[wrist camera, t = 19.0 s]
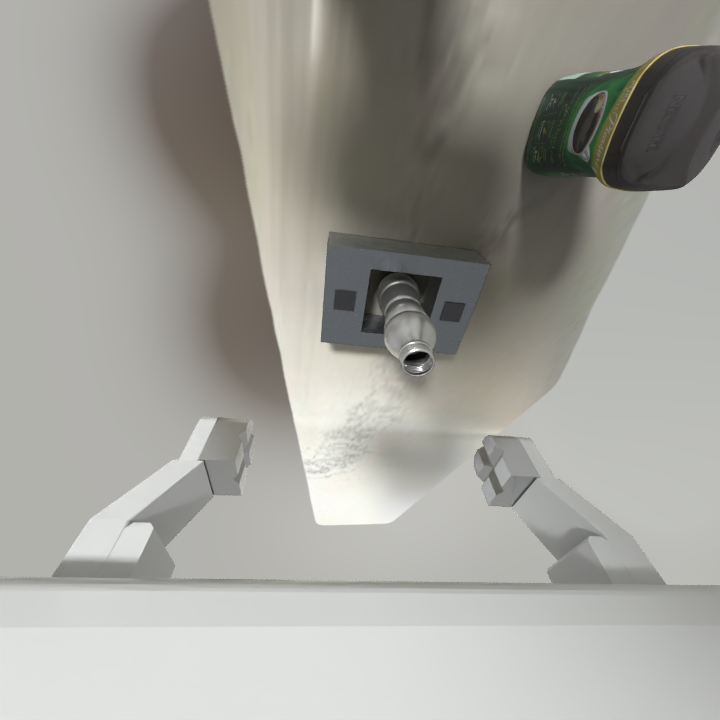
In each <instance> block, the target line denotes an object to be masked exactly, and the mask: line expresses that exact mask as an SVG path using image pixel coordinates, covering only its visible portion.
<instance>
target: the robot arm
mask: <svg viewBox="0 0 720 720" xmlns="http://www.w3.org/2000/svg"><path fill="white" fill-rule="evenodd" d="M252 429H253V425H252V420H244V419H233V418H222V417H208V416H203V417H202V418H201V419H200V420H199V421H198V424H197V425H196V427H195V429H194V431H193V433H192V435H191V437H190V439H189V441H188V443H187V445H186V447H185V448H184V450H183V453H182V454H181V456H180V458H179V459H174V460H172V461H171V462H169V463H168V464H166V465H165V466H164V467H162V468H161V469H159V470H158V471H157V472H155V473H154V474H152V475H151V476H150V477H148V478H147V479H145V480H144V481H143V482H141V483H140V484H138V485H137V486H136V487H134V488H133V489H131V490H130V491H129V492H127V493H126V494H125V495H123V496H122V497H120V498H119V499H118V500H116V501H115V502H113V503H112V504H111V505H109V506H108V507H107V508H105V509H104V510H102V511H101V512H99V513H98V514H97V515H95V516H94V517H92V518H91V519H90V520H89V522H88V523H87V524H86V526H85V527H84V529H83V530H82V532H81V533H80V535H79V536H78V538H77V539H76V541H75V542H74V544H73V545H72V547H71V548H70V550H69V551H68V553H67V554H66V556H65V557H64V559H63V560H62V562H61V563H60V565H59V567H58V568H57V569H56V571H55V572H54V574H53V575H52V577H7V576H5V577H4V576H0V720H720V585H666V584H665V582H664V581H663V579H662V578H661V576H660V575H659V573H658V572H657V571H656V569H655V568H654V566H653V565H652V563H651V562H650V561H649V559H648V558H647V556H646V555H645V553H644V552H643V551H642V549H641V548H640V546H639V545H638V543H637V542H636V541H635V539H634V538H633V536H631V535H630V534H629V533H628V532H626V531H625V530H624V529H622V528H621V527H620V526H619V525H617V524H616V523H615V522H613V521H612V520H611V519H610V518H608V517H607V516H606V515H605V514H603V513H602V512H601V511H600V510H598V509H597V508H596V507H594V506H593V505H592V504H591V503H589V502H588V501H587V500H586V499H584V498H583V497H582V496H581V495H579V494H578V493H577V492H576V491H574V490H573V489H572V488H570V487H569V486H568V485H567V484H565V483H564V482H563V481H561V480H560V479H556V478H555V477H554V475H553V474H552V472H551V470H550V469H549V467H548V465H547V464H546V462H545V460H544V459H543V457H542V455H541V454H540V452H539V450H538V449H537V447H536V445H535V444H534V442H533V441H532V440H531V439H530V438H523V437H510V436H492V435H488V436H486V437H485V438H484V440H483V441H482V442H483V445H484V446H483V447H481V448H480V449H478V450H477V452H476V454H475V457H474V467H475V471H476V474H477V476H478V477H479V478H480V479H481V480H482V481H483V485H482V490H483V492H484V495H485V498H486V500H487V503H488V505H489V506H502V507H512V510H513V511H514V512H515V513H516V514H517V515H518V516H519V518H520V519H521V520H522V521H523V522H524V523H525V524H526V525H527V527H528V528H529V529H530V530H531V531H532V532H533V533H534V534H535V536H537V538H538V539H539V540H540V541H541V542H542V543H543V545H544V546H545V547H546V548H547V549H548V550H549V551H550V552H551V554H552V555H553V556H554V557H555V558H556V559H557V560H558V561H557V562H556V563H554V564H553V565H552V566H550V567H549V568H548V571H547V573H548V575H549V578H550V580H551V582H552V583H490V582H489V583H488V582H412V581H411V582H410V581H409V582H408V581H334V580H333V581H332V580H324V581H323V580H253V579H252V580H251V579H250V580H249V579H248V580H247V579H246V580H245V579H172V578H171V575H172V573H173V570H174V568H175V565H174V562H173V561H172V559H171V557H170V555H169V554H168V552H167V550H166V548H165V547H166V546H167V544H169V542H170V541H171V540H172V539H173V538H174V537H175V536H176V535H177V534H178V533H179V532H180V531H181V530H182V529H183V528H184V527H185V526H186V525H187V524H188V523H189V521H191V520H192V518H193V517H194V516H195V515H196V514H197V513H198V512H199V511H200V510H201V509H202V508H203V507H204V506H205V505H206V504H207V503H208V502H209V501H210V500H211V499H212V498H213V495H242V491H243V487H244V484H245V481H246V478H247V473H246V468H247V467H248V466H249V465H250V464H251V460H252V457H253V451H254V436H253V435H252V434H251V432H252Z"/></svg>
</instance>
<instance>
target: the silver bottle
mask: <svg viewBox="0 0 720 720" xmlns="http://www.w3.org/2000/svg"><path fill="white" fill-rule="evenodd" d="M377 299H378V303H379V305H380V307H381V309H382V310H383V313H384V317H385V326H384V342H385V345H386V347H387V349H388V350H389V351H390V352H391V354H392V355H394V356H395V357H396V358H398V359H399V361H400V363H401V366H402V368H403V370H404V371H405V372H406V373H407V374H409V375H411V376H423V375H425V374H427V373H429V372H430V371H431V370H432V369H433V367H434V363H435V360H434V356H433V351H432V349H433V347H434V345H435V342H436V329H435V326H434V324H433V322H432V321H431V319H430V318H429V317H428V316H427V314H426V313H425V312H424V310H423V308H422V306H421V303H420V293H419V288H418V285H417V284H416V282H415V281H414V280H413V279H412V278H411V277H410V276H408V275H406V274H404V273H392V274H390V275H387V276H386V277H385V278H384V279H383V280H382V281H381V282H380V284H379V287H378V291H377Z"/></svg>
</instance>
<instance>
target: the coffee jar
mask: <svg viewBox="0 0 720 720" xmlns="http://www.w3.org/2000/svg"><path fill="white" fill-rule="evenodd" d="M719 145H720V46H713V45H710V46H701V45H687V46H680V47H675V48H672V49H669V50H667V51H664V52H662V53H660V54H658V55H657V56H655V57H653V58H652V59H650V60H649V61H647V62H646V63H645V64H643V65H642V66H639V67H636V68H633V69H628V70H621V71H608V72H589V73H580V74H574V75H569V76H566V77H563V78H561V79H559V80H558V81H556V82H555V83H554V84H553V85H552V86H551V87H550V88H549V89H548V91H547V92H546V94H545V95H544V97H543V99H542V102H541V104H540V106H539V109H538V111H537V114H536V117H535V120H534V123H533V126H532V129H531V132H530V136H529V140H528V145H527V150H526V163H527V166H528V168H529V169H530V170H531V171H532V172H534V173H537V174H541V175H547V176H557V177H569V176H586V177H597V178H598V180H599V181H600V182H601V183H602V184H603V185H605V186H607V187H609V188H612V189H615V190H621V191H655V190H656V191H658V190H672V189H678V188H681V187H683V186H685V185H686V184H687V183H689V182H690V181H691V180H692V179H694V178H695V177H696V176H697V175H698V174H699V173H700V172H701V170H702V169H703V168H704V167H705V165H706V164H707V163H708V161H709V160H710V158H711V157H712V155H713V154H714V152H715V151H716V149H717V148H718V146H719Z"/></svg>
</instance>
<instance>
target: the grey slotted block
mask: <svg viewBox="0 0 720 720" xmlns="http://www.w3.org/2000/svg"><path fill="white" fill-rule="evenodd" d="M490 266H491V264H489V263H488V262H487V261H486V260H485V259H484V258H483V257H482V256H481V255H480V254H479V253H478V252H477V251H474V250H466V249H458V248H451V247H443V246H435V245H428V244H420V243H413V242H405V241H397V240H390V239H382V238H374V237H367V236H359V235H352V234H344V233H336V232H330V233H329V238H328V244H327V258H326V273H325V288H324V302H323V317H322V331H321V342H327V343H337V344H348V345H359V346H370V347H381V348H387V347H386V345H385V342H384V326H385V317H384V316H381V315H371V314H364V310H365V303H366V297H367V291H368V285H369V278H370V272H371V269H376V270H384V271H393V272H401V273H409V274H418V275H426V276H429V278H428V282H427V286H426V289H425V293H424V296H423V300H422V303H421V306H422V308H423V310H424V312H425V313H426V314H427V316H428V317H429V318H430V319H431V321H432V322H433V324H434V326H435V329H436V342H435V345H434V347H433V349H432V351H433V352H434V353H445V354H456V352H457V349H458V347H459V344H460V342H461V339H462V337H463V334H464V332H465V329H466V327H467V324H468V322H469V319H470V317H471V314H472V312H473V309H474V307H475V304H476V302H477V299H478V296H479V294H480V291H481V289H482V286H483V284H484V281H485V279H486V276H487V274H488V271H489V269H490Z"/></svg>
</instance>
